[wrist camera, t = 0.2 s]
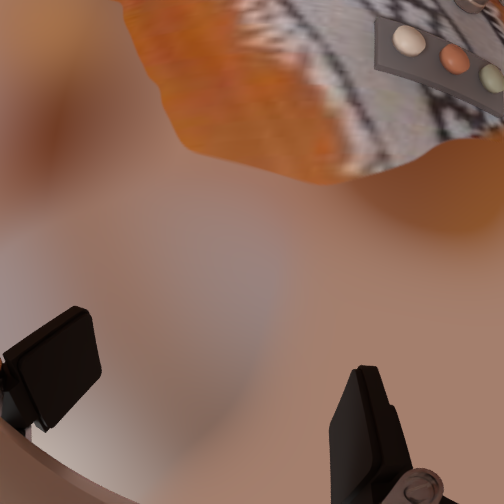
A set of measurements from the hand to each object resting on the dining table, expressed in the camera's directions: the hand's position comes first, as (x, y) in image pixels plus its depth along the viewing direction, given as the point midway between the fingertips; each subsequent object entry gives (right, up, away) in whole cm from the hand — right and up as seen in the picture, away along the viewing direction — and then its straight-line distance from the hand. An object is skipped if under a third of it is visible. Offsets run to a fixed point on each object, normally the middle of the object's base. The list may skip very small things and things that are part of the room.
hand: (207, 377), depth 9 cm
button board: (+30, +32, +19) cm, 48 cm away
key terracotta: (+30, +31, +17) cm, 47 cm away
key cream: (+23, +33, +18) cm, 44 cm away
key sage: (+37, +30, +16) cm, 50 cm away
